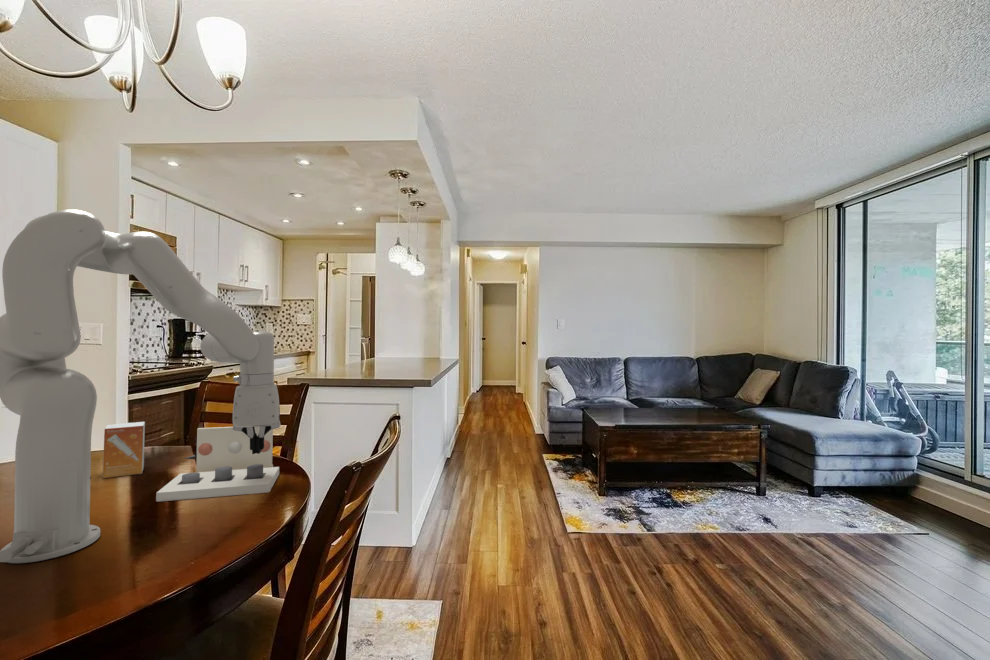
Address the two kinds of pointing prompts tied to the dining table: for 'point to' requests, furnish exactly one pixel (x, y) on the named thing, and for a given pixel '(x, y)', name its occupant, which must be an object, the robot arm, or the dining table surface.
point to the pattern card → (230, 449)
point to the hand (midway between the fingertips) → (257, 452)
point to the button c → (255, 471)
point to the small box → (123, 449)
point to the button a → (191, 478)
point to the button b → (223, 474)
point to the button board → (218, 485)
